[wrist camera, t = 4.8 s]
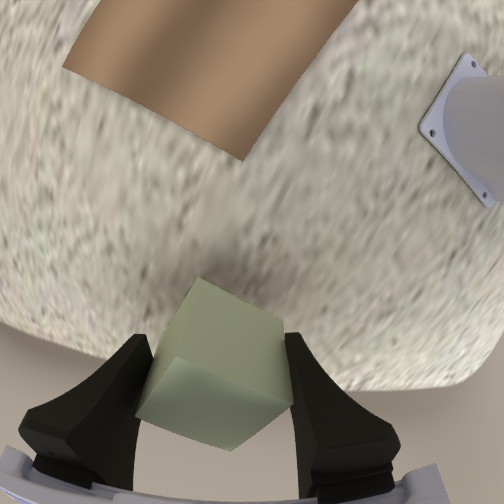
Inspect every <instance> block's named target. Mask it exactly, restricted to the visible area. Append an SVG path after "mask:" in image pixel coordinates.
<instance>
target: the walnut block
mask: <svg viewBox="0 0 504 504" xmlns="http://www.w3.org/2000/svg"><path fill="white" fill-rule="evenodd" d="M357 2H358V0H101V1H100V2H99V4H98V5H97V7H96V8H95V10H94V11H93V13H92V14H91V16H90V18H89V19H88V21H87V22H86V24H85V26H84V27H83V29H82V31H81V32H80V34H79V36H78V38H77V39H76V41H75V43H74V45H73V46H72V48H71V50H70V52H69V54H68V56H67V58H66V60H65V62H64V64H63V66H62V67H64V68H66V69H68V70H70V71H73V72H75V73H77V74H79V75H81V76H84V77H86V78H88V79H90V80H92V81H94V82H97V83H99V84H101V85H103V86H105V87H107V88H109V89H111V90H113V91H115V92H117V93H119V94H121V95H123V96H125V97H127V98H129V99H131V100H133V101H135V102H137V103H139V104H141V105H143V106H145V107H147V108H149V109H151V110H152V111H154V112H156V113H158V114H160V115H162V116H164V117H166V118H167V119H169V120H171V121H173V122H175V123H177V124H178V125H180V126H182V127H184V128H186V129H187V130H189V131H191V132H193V133H195V134H196V135H198V136H200V137H202V138H203V139H205V140H207V141H209V142H210V143H212V144H214V145H215V146H217V147H219V148H221V149H222V150H224V151H226V152H227V153H229V154H231V155H232V156H234V157H236V158H237V159H239V160H241V161H242V162H243V160H244V159H245V157H246V156H247V154H248V152H249V151H250V149H251V148H252V146H253V145H254V143H255V142H256V140H257V139H258V137H259V136H260V134H261V133H262V131H263V130H264V128H265V127H266V125H267V124H268V122H269V121H270V120H271V118H272V117H273V115H274V114H275V112H276V111H277V109H278V108H279V106H280V105H281V104H282V102H283V101H284V99H285V98H286V96H287V95H288V93H289V92H290V91H291V89H292V88H293V86H294V85H295V84H296V82H297V81H298V79H299V78H300V77H301V75H302V74H303V72H304V71H305V70H306V68H307V67H308V66H309V64H310V63H311V61H312V60H313V59H314V57H315V56H316V55H317V53H318V52H319V51H320V49H321V48H322V47H323V45H324V44H325V43H326V41H327V40H328V39H329V37H330V36H331V35H332V33H333V32H334V31H335V30H336V28H337V27H338V26H339V24H340V23H341V22H342V21H343V19H344V18H345V17H346V15H347V14H348V13H349V12H350V10H351V9H352V8H353V7H354V5H355V4H356V3H357Z"/></svg>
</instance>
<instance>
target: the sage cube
mask: <svg viewBox="0 0 504 504" xmlns="http://www.w3.org/2000/svg"><path fill="white" fill-rule="evenodd" d="M293 404H294V400H293V393H292V385H291V378H290V371H289V363H288V359H287V354H286V346H285V335H284V328H283V321H282V320H280V319H278V318H276V317H274V316H272V315H270V314H268V313H266V312H264V311H263V310H261V309H259V308H257V307H255V306H253V305H251V304H249V303H247V302H245V301H243V300H241V299H239V298H237V297H235V296H233V295H232V294H230V293H228V292H226V291H224V290H222V289H220V288H218V287H216V286H215V285H213V284H211V283H209V282H207V281H205V280H203V279H202V278H200V277H198V278H197V279H196V281H195V283H194V284H193V286H192V288H191V289H190V291H189V292H188V294H187V296H186V297H185V299H184V300H183V302H182V304H181V305H180V307H179V309H178V310H177V312H176V314H175V315H174V317H173V318H172V320H171V322H170V323H169V325H168V327H167V328H166V330H165V332H164V333H163V335H162V337H161V338H160V340H159V343H158V346H157V349H156V352H155V355H154V358H153V361H152V364H151V367H150V370H149V373H148V376H147V379H146V382H145V385H144V388H143V391H142V395H141V398H140V401H139V404H138V408H137V411H136V414H135V417H137V418H139V419H141V420H144V421H146V422H148V423H151V424H153V425H156V426H158V427H161V428H163V429H166V430H168V431H171V432H173V433H176V434H179V435H181V436H184V437H187V438H190V439H193V440H196V441H199V442H202V443H205V444H208V445H211V446H214V447H217V448H221V449H224V450H227V451H232V450H234V449H235V448H236V447H238V446H239V445H241V444H242V443H244V442H245V441H246V440H248V439H249V438H250V437H252V436H253V435H255V434H256V433H257V432H259V431H260V430H261V429H263V427H265V426H266V425H268V424H269V423H270V422H272V421H273V420H274V419H275V418H276V417H278V416H279V415H280V414H282V413H283V412H284V411H285V410H287V409H288V408H289V407H290V406H291V405H293Z"/></svg>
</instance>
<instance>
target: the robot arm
mask: <svg viewBox="0 0 504 504" xmlns="http://www.w3.org/2000/svg"><path fill="white" fill-rule="evenodd" d="M471 62H472V64H473V67H472V65H471ZM419 130H420V132H421V134H422V135H423V136H424V137H425V138H426V139H427V140H428V141H429V142H430V143H431V144H432V145H433V146H434V147H435V148H436V149H437V150H438V151H439V152H440V153H441V154H442V155H443V157H444V158H445V159H446V160H447V161H448V162H449V163H450V164H451V165H452V167H453V168H454V169H455V170H456V171H457V172H458V174H459V175H460V176H461V177H462V178H463V179H464V181H465V182H466V183H467V184H468V186H469V187H470V188H471V189H472V190H473V192H474V193H475V194H476V196H477V197H478V198H479V199H480V201H481V202H482V203H483V205H484V206H485V207H486V208H488V209H490V208H492V207H493V205H494V204H495V202H496V201H498V202H500V203H502V204H504V77H489V76H488V75H487V74H486V72H485V71H484V70H483V69H482V67H481V66H480V65H479V64H478V62H477V61H476V60H475V59H474V58H473V57H472V55H471V54H469V53H464V54H463V55H462V56H461V58H460V60H459V61H458V63H457V65H456V66H455V68H454V70H453V72H452V73H451V75H450V76H449V78H448V80H447V81H446V83H445V85H444V86H443V88H442V90H441V91H440V93H439V94H438V96H437V98H436V99H435V101H434V102H433V104H432V105H431V107H430V109H429V110H428V112H427V113H426V115H425V116H424V118H423V119H422V121H421V123H420V125H419ZM430 130H432V132H433V134H432V136H430V134H429V132H430ZM483 193H484V196H483ZM285 346H286V354H287V359H288V363H289V371H290V378H291V385H292V393H293V400H294V404H293V405H291V406H290V410H291V414H292V419H293V425H294V431H295V442H296V454H297V469H298V486H299V499H297V500H285V501H270V502H269V501H268V502H217V501H201V500H188V499H178V498H170V497H163V496H156V495H150V494H144V493H138V492H133V473H134V472H133V471H134V460H135V450H136V443H137V437H138V431H139V426H140V422H141V419H139V418H137V417H135V414H136V411H137V408H138V404H139V401H140V398H141V395H142V391H143V388H144V385H145V382H146V379H147V376H148V373H149V370H150V367H151V364H152V361H153V356H152V353H151V350H150V346H149V343H148V340H147V337H146V334H133V335H132V336H131V337H130V338H129V339H128V340H127V341H126V342H125V343H124V344H123V346H122V347H121V348H120V349H119V350H118V351H117V352H116V353H115V354H114V355H113V356H112V357H111V358H110V359H109V360H108V361H107V362H105V363H104V364H103V365H102V366H101V367H100V368H99V369H98V370H97V371H95V372H94V373H93V374H92V375H91V376H90V377H88V378H87V379H86V380H84V381H83V382H82V383H80V384H79V385H77V386H76V387H74V388H73V389H71V390H70V391H68V392H66V393H65V394H63V395H61V396H59V397H57V398H55V399H53V400H51V401H49V402H47V403H45V404H42V405H40V406H37V407H34V408H32V409H29V410H28V411H27V413H26V415H25V417H24V418H23V420H22V422H21V424H20V426H19V428H18V431H19V433H20V435H21V437H22V438H23V439H24V441H25V442H26V443H27V444H28V445H29V446H30V447H31V448H32V449H33V450H34V451H35V452H36V453H37V455H36V457H35V460H34V462H33V461H32V459H31V458H30V457H29V456H27V455H26V454H25V453H23V452H21V451H19V450H17V449H15V448H13V447H10V446H8V445H7V446H6V448H5V450H4V452H3V454H2V456H1V458H0V490H2V491H3V492H4V493H6V494H7V495H8V496H10V497H11V498H12V499H14V500H15V501H17V502H18V503H19V504H450V501H449V498H448V495H447V492H446V490H445V487H444V484H443V481H442V478H441V476H440V473H439V470H438V468H437V465H436V464H435V463H434V464H431V465H428V466H425V467H422V468H419V469H415V470H413V471H410V472H408V473H407V474H405V475H404V476H403V478H402V479H401V480H399V481H396V482H394V479H393V476H392V471H393V466H392V460H393V459H394V457H395V456H396V454H397V453H398V452H399V450H400V447H401V445H400V441H399V438H398V436H397V434H396V432H395V430H394V428H393V427H392V425H391V424H390V423H388V422H386V421H384V420H382V419H381V418H379V417H377V416H375V415H374V414H372V413H370V412H369V411H368V410H366V409H365V408H363V407H362V406H361V405H359V404H358V403H357V402H356V401H354V400H353V399H352V398H350V397H349V396H348V395H347V394H346V393H345V392H344V391H343V390H342V389H341V388H340V387H339V386H338V385H337V384H336V383H335V382H334V381H333V380H332V379H331V378H330V377H329V375H328V374H327V373H326V372H325V371H324V369H323V368H322V367H321V366H320V364H319V363H318V361H317V360H316V359H315V357H314V356H313V354H312V353H311V351H310V350H309V348H308V347H307V345H306V343H305V341H304V340H303V338H302V336H301V334H300V333H299V332H295V333H285Z"/></svg>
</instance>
